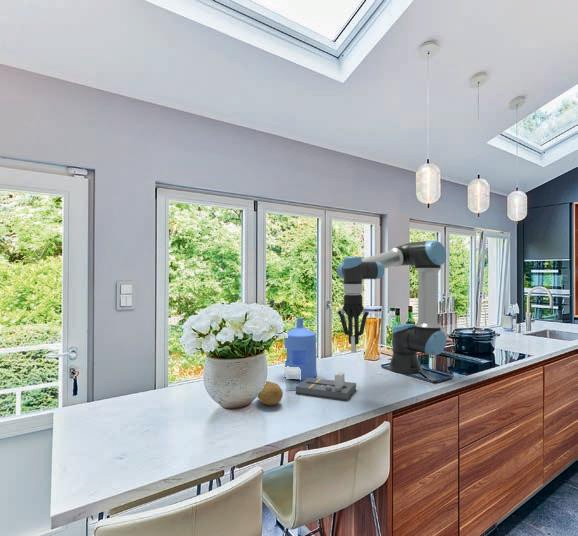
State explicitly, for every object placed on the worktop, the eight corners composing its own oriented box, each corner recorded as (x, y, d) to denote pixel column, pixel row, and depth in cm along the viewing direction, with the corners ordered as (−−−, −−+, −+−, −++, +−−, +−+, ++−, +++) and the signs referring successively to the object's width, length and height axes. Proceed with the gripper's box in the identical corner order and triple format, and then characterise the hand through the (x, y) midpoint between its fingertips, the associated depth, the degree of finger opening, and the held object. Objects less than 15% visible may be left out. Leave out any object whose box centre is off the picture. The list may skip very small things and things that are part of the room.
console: (356, 390, 154) (355, 379, 154) (346, 401, 142) (346, 389, 142) (308, 384, 164) (308, 374, 164) (295, 393, 151) (295, 383, 151)
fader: (344, 390, 151) (344, 372, 151) (341, 393, 148) (341, 375, 148) (337, 389, 153) (337, 371, 153) (334, 392, 149) (334, 374, 149)
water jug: (300, 369, 187) (299, 316, 187) (323, 375, 176) (322, 318, 176) (278, 376, 176) (277, 319, 176) (301, 383, 165) (300, 322, 165)
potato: (273, 396, 149) (273, 376, 149) (288, 407, 136) (288, 386, 136) (251, 400, 144) (250, 380, 145) (264, 412, 132) (264, 390, 132)
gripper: (370, 293, 148) (371, 351, 148) (340, 293, 154) (341, 348, 154) (366, 295, 142) (367, 355, 141) (334, 294, 147) (335, 352, 147)
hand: (353, 351), depth 147 cm, fingers closed
